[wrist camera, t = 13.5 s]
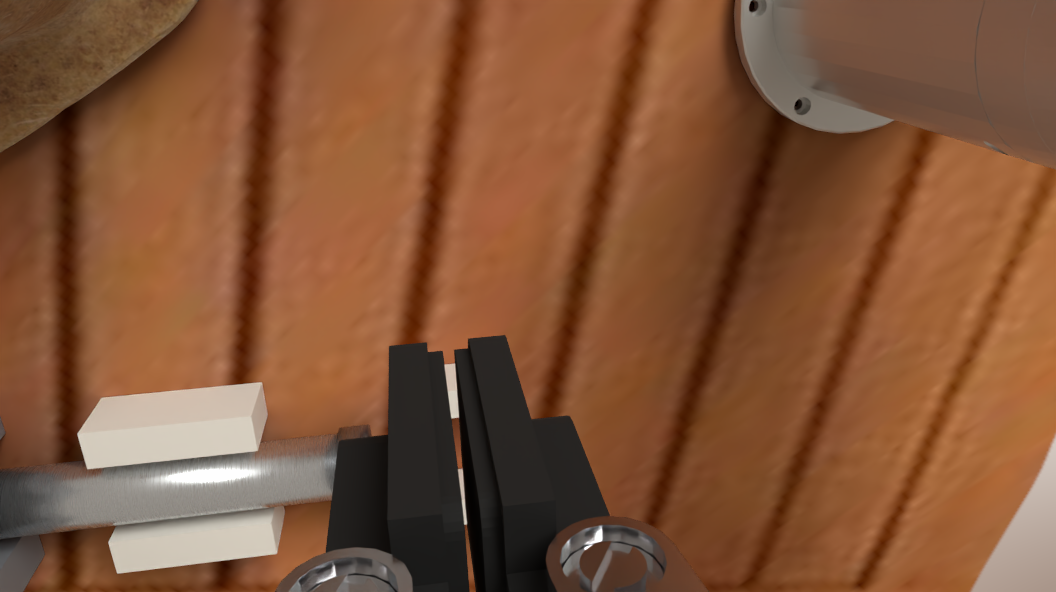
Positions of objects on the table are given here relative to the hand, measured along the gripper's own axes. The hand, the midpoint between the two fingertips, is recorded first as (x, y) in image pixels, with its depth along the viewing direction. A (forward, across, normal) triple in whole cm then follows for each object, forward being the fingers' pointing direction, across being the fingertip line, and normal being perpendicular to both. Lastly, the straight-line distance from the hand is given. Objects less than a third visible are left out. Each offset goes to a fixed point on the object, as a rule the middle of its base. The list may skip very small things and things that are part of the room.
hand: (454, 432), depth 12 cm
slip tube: (+29, +16, +18) cm, 37 cm away
